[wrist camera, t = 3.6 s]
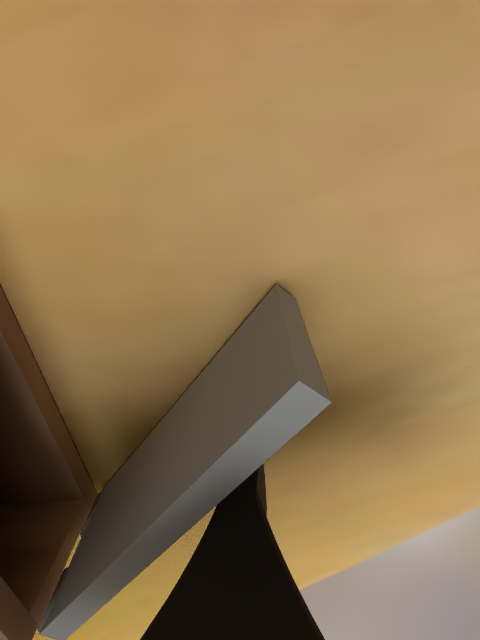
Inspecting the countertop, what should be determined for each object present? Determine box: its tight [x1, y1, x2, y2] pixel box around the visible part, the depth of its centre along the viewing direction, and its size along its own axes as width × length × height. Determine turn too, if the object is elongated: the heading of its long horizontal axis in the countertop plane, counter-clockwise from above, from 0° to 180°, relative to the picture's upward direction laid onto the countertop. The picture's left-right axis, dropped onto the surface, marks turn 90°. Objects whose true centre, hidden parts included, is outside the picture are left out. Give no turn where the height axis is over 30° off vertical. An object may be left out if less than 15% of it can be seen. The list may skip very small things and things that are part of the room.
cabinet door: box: [38, 285, 332, 640], centre depth 11 cm, size 2×13×5 cm, turn 143°
